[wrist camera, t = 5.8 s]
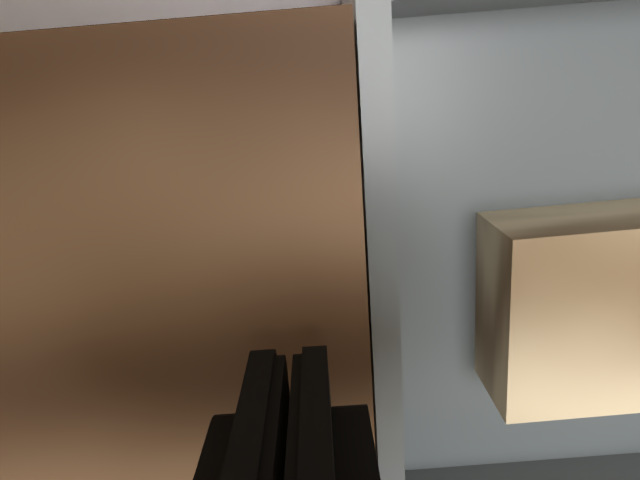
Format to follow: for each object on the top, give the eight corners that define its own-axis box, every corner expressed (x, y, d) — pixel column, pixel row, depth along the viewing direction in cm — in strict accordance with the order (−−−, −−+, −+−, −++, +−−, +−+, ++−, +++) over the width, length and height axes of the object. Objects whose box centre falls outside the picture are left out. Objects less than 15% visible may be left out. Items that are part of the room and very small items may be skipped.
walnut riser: (-170, 75, 15) (-458, 70, 10) (336, 33, 15) (352, 3, 9) (-21, 480, 20) (-152, 636, 14) (362, 450, 20) (383, 597, 14)
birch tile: (734, 220, 13) (659, 195, 16) (512, 240, 13) (476, 212, 16) (700, 407, 15) (638, 355, 18) (505, 424, 15) (474, 369, 18)
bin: (341, -2, 15) (353, -37, 11) (865, -46, 15) (1093, -99, 10) (368, 469, 20) (383, 572, 16) (750, 440, 20) (867, 536, 16)
